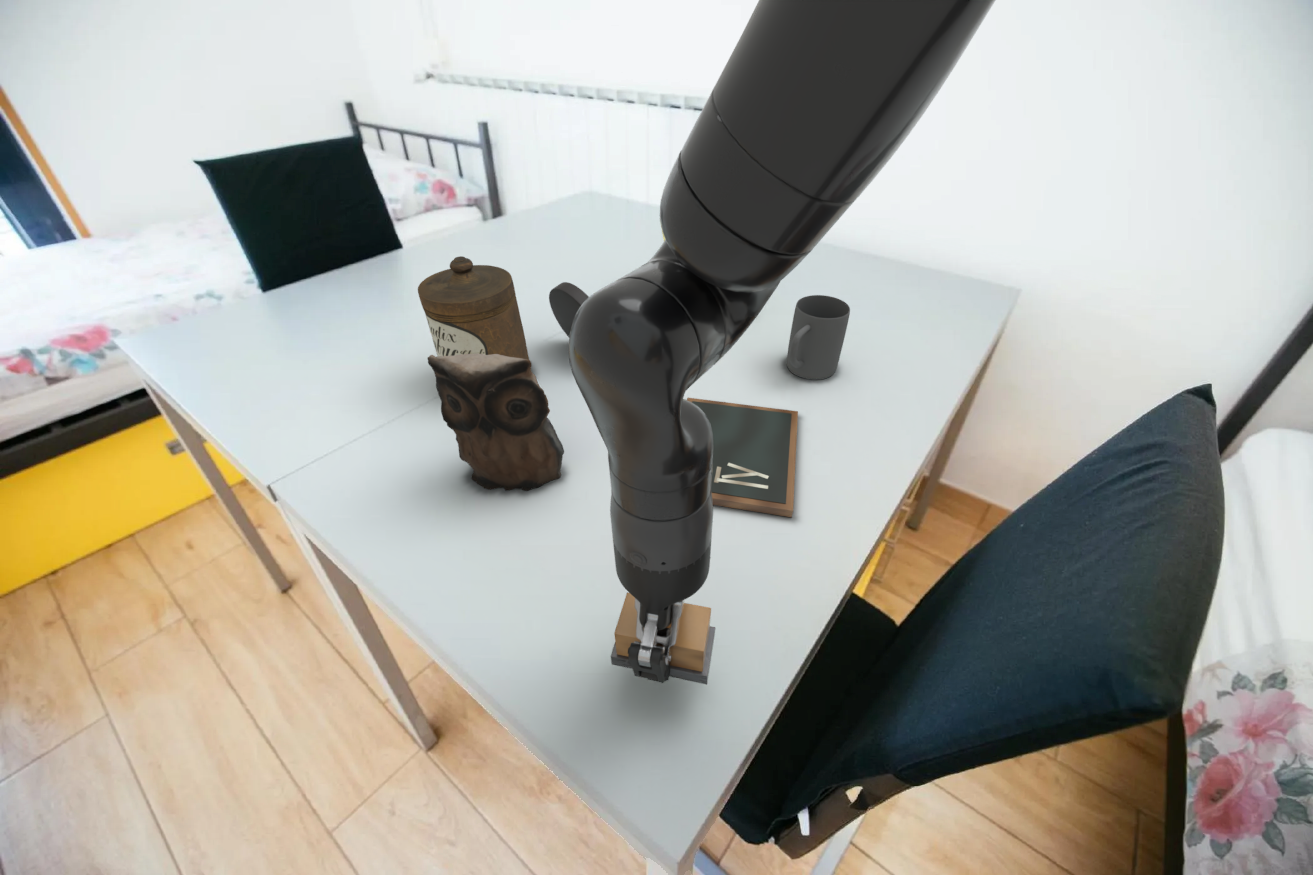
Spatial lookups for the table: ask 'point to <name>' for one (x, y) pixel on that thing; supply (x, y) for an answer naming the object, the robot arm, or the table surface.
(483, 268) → the wooden container
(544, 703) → the table surface
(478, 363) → the owl
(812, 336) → the mug
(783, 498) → the board
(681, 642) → the eraser
